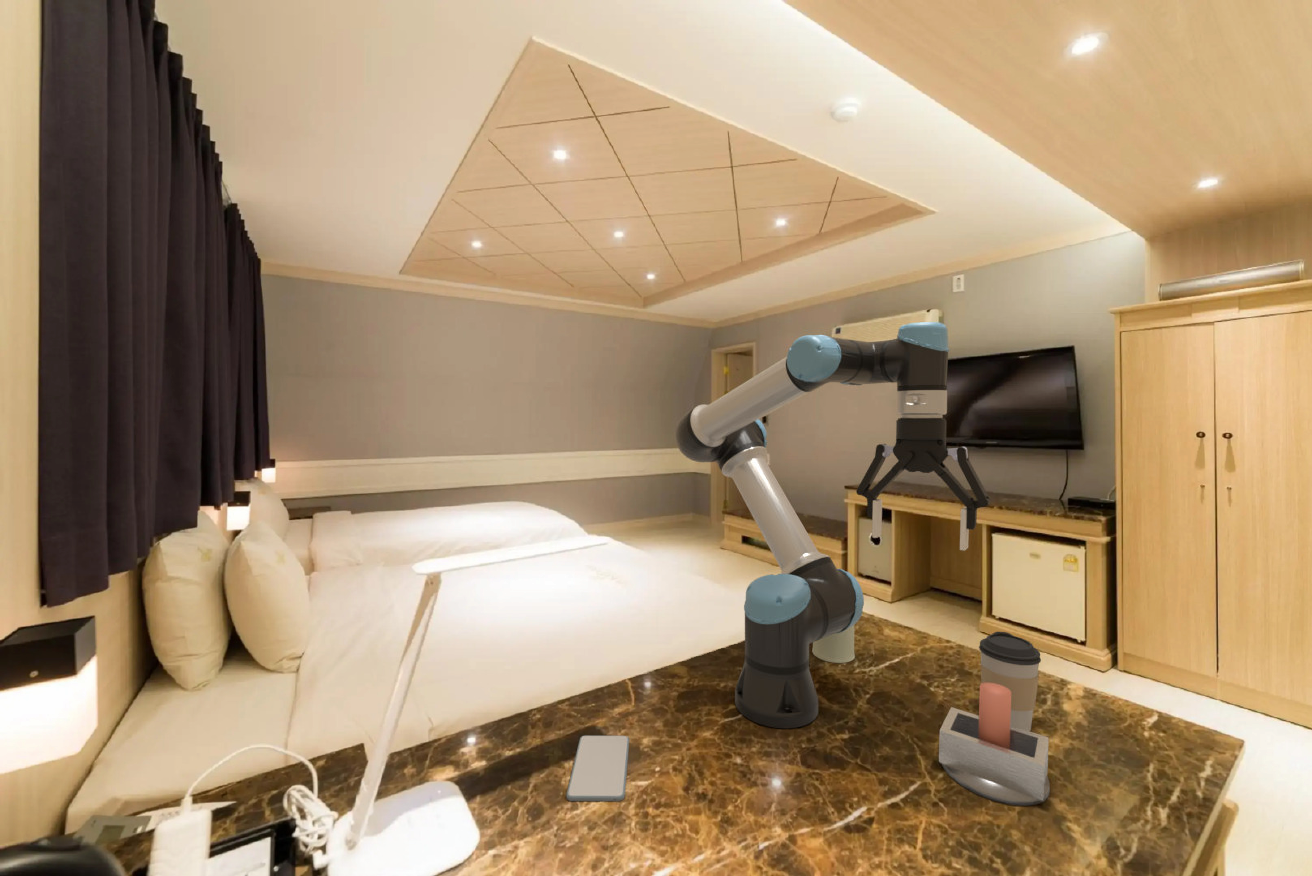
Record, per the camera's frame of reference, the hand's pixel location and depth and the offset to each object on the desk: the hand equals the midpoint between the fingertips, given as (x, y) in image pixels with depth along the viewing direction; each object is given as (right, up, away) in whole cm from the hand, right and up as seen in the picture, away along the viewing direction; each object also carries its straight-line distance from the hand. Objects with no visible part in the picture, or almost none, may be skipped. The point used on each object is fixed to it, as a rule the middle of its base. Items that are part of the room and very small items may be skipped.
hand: (918, 542), depth 90 cm
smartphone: (-53, -34, -8) cm, 63 cm away
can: (-4, -32, +31) cm, 44 cm away
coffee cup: (+18, -33, +4) cm, 37 cm away
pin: (+7, -32, -9) cm, 34 cm away
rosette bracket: (+7, -33, -9) cm, 35 cm away
